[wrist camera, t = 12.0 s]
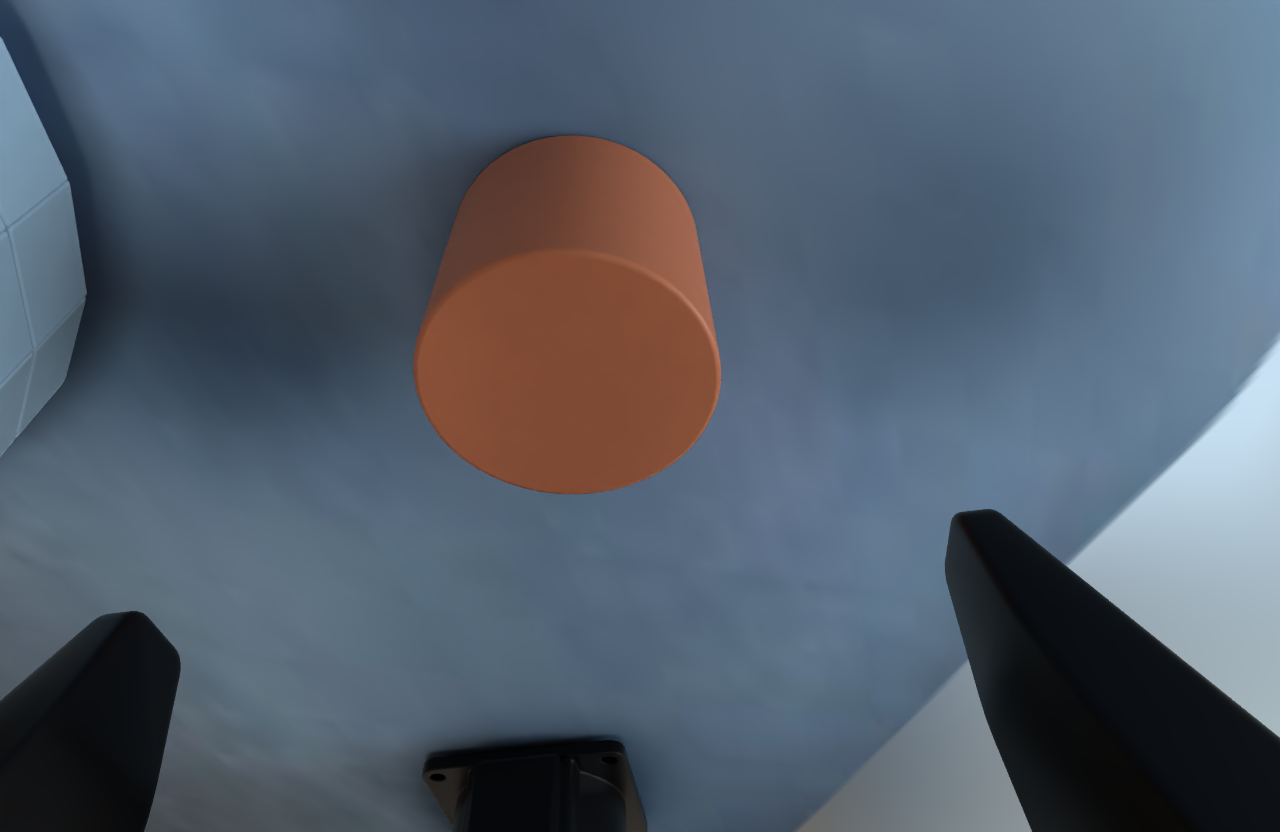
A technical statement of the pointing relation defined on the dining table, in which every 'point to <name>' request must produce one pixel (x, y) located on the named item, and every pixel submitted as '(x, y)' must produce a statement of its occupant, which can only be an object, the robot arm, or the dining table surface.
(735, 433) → the dining table surface
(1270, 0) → the dining table surface
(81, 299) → the bowl
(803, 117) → the dining table surface
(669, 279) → the terracotta cylinder
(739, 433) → the dining table surface
